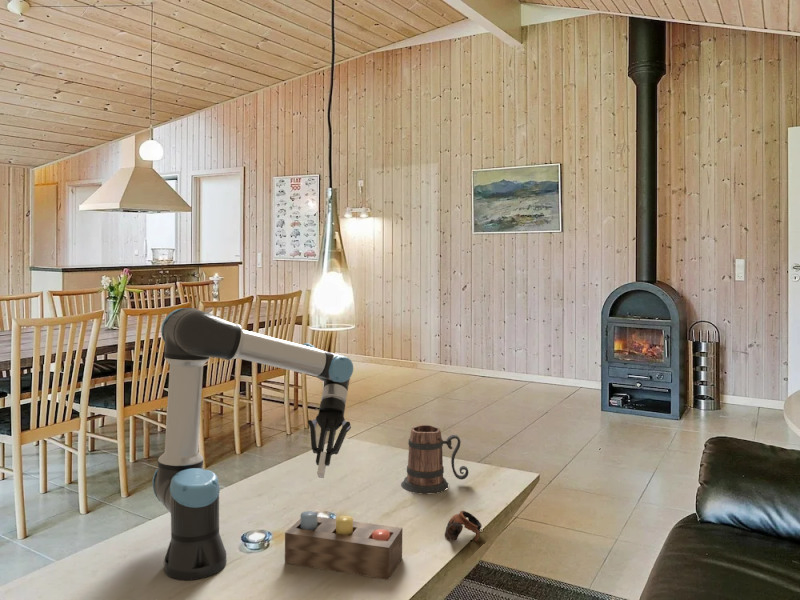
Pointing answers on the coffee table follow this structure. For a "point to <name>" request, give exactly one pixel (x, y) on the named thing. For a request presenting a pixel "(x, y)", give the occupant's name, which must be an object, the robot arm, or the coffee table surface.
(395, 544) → the console
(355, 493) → the coffee table surface
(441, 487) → the tankard
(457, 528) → the pottery mug
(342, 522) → the mustard button
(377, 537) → the red button
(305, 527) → the slate button
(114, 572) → the coffee table surface
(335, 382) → the robot arm
